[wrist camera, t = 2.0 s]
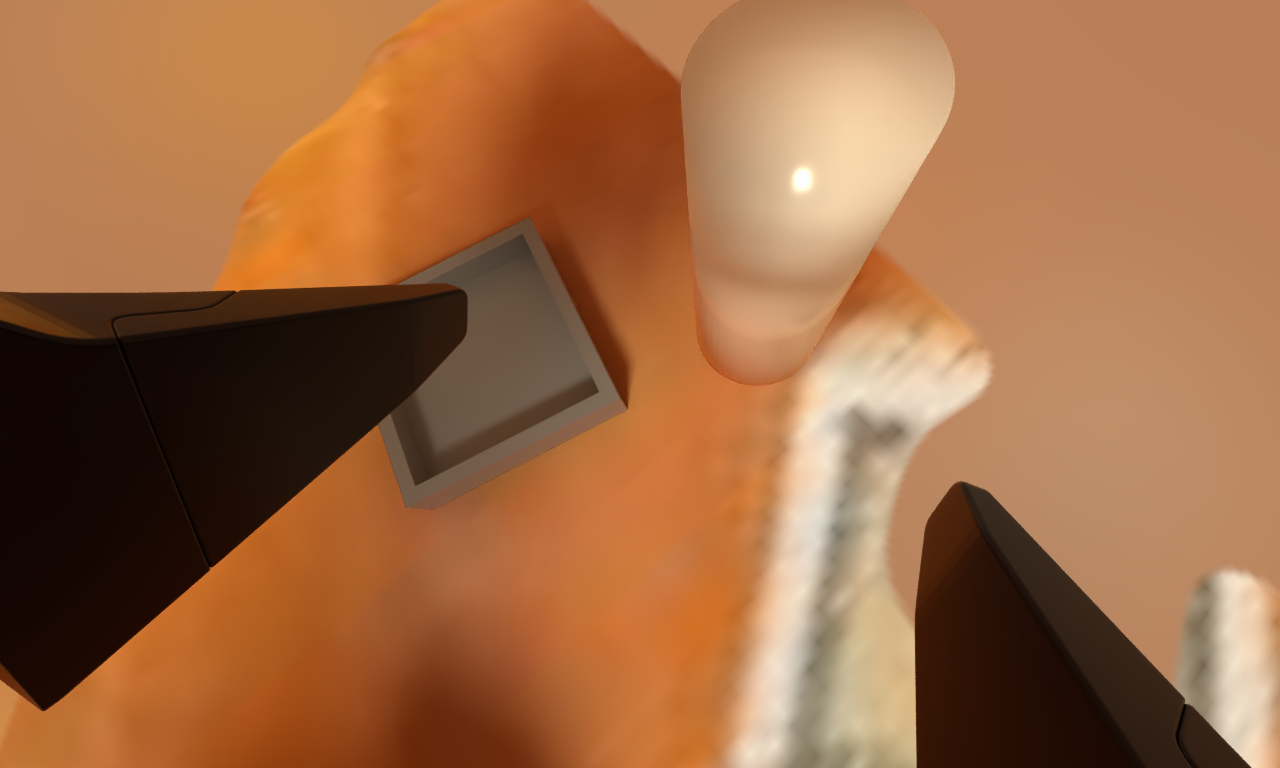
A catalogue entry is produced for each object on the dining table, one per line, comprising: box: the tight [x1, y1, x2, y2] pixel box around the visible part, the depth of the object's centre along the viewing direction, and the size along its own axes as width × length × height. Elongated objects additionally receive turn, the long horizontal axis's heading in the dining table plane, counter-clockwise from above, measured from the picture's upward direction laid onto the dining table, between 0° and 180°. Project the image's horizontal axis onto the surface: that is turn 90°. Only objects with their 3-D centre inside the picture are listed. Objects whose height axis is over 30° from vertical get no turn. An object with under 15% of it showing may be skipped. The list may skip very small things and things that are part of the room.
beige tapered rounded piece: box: [681, 0, 955, 386], centre depth 16 cm, size 5×5×13 cm
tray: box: [378, 217, 628, 509], centre depth 23 cm, size 9×9×2 cm
